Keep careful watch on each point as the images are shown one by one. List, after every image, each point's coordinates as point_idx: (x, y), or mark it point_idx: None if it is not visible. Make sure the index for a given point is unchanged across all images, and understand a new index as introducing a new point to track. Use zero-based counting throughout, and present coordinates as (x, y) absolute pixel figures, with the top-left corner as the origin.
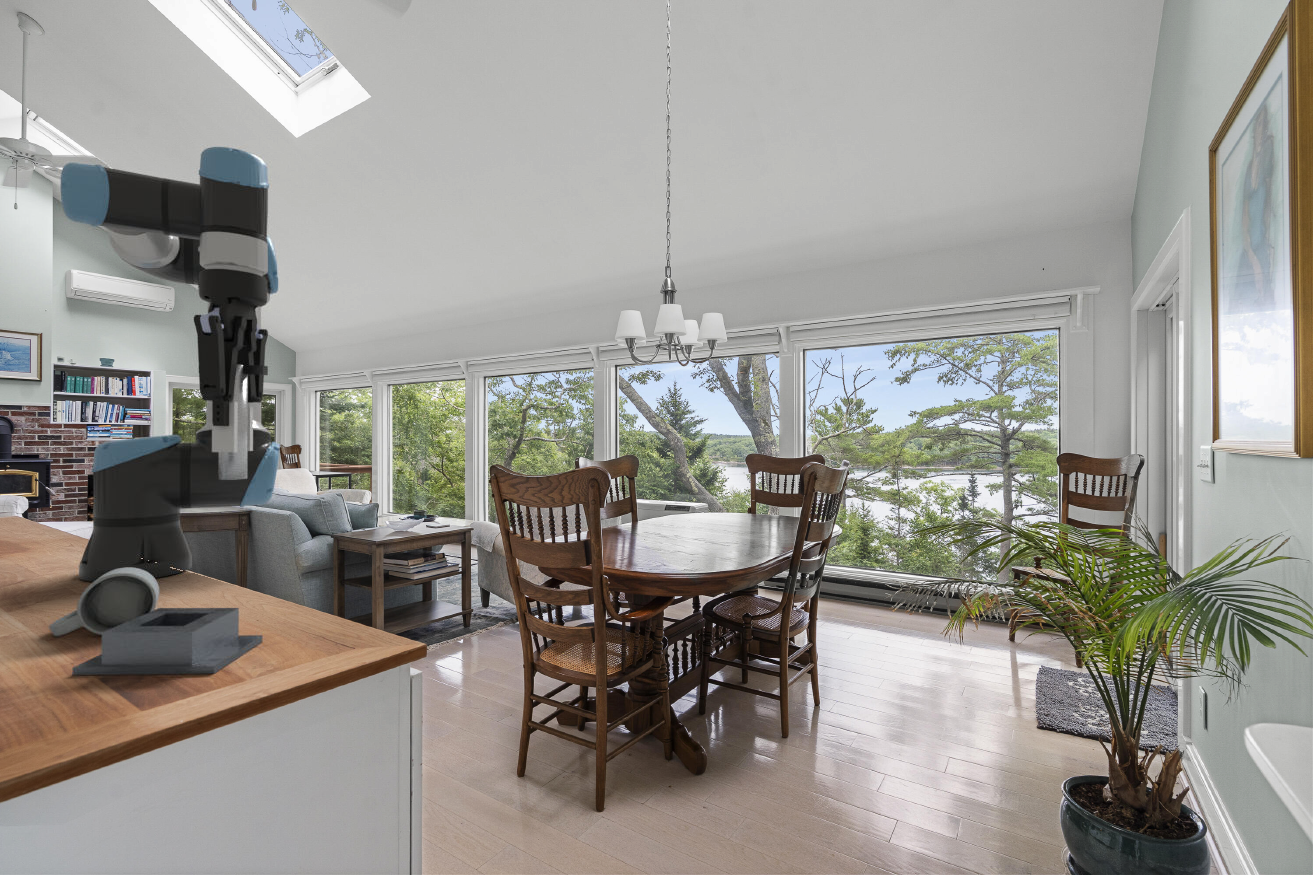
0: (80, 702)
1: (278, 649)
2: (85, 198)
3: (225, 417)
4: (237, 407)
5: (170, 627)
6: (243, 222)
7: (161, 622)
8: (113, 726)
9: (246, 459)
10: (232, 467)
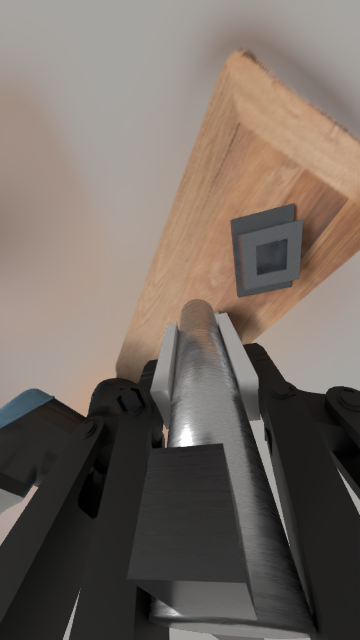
0: (329, 247)
1: (244, 194)
2: None
3: (260, 355)
4: (236, 367)
5: (290, 245)
6: None
7: (260, 273)
8: None
9: (192, 310)
10: (212, 311)
